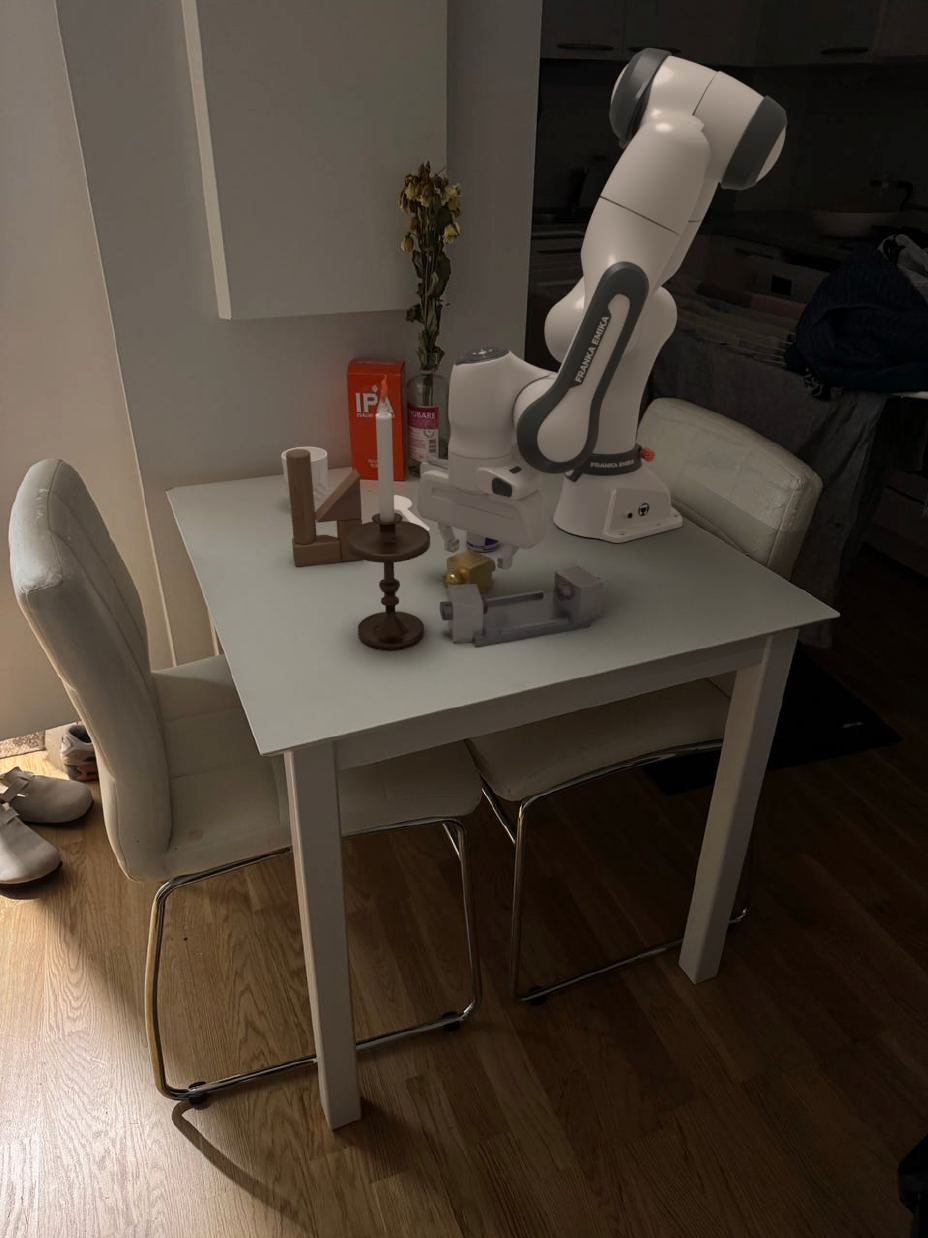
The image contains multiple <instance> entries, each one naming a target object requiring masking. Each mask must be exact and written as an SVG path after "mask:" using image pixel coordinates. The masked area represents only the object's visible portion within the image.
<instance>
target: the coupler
mask: <svg viewBox="0 0 928 1238" xmlns="http://www.w3.org/2000/svg"><path fill="white" fill-rule="evenodd" d="M496 566H497V565H496V561H495V560H494V559H493V558H492V557H490V556H487V555H485V554H482V553H481V552H477V551H473V550H471V549H469V548H468V549H465V550H464V551H461V552H459V553H457V554H454V555H452V556H450V557H447V558H446V574H444V575H443V576H442V584H443V586H444V588H445V589H446V590H447V591H448V585H465V584H477V586H478V590H479V593H480V594H481V593H483V592H485V591H488V590H490V589H491V588H493V572H495V570H496V569H497V568H496Z"/></svg>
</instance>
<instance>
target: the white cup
mask: <svg viewBox="0 0 928 1238" xmlns="http://www.w3.org/2000/svg"><path fill="white" fill-rule="evenodd" d="M293 449H305V450H308V451H309V452H310V457H311V469H312V482H313V495H314V508H315V512H316V511H317V509H318V508H319V507H320V506H321V505H322V504H323V503H324V502H325V501H326V500H327V498H328V491H329V489H328V488H329V487H328V486H329V485H328V483H329V482H328V478H329V473H328V471H329V470H328V469H329V468H328V452H327V450H325V449H323V448H321V447H316V446H298V447H292V448H289V449H287V450H284V451H283V452H282V453H281V463H282V469H283V476H284V483H285V489H286V494H287V498H288V507H289V510H291V505H290V494H289V483H288V473H287V462H286V453H287V452H288V451H290V450H293Z"/></svg>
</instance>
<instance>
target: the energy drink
mask: <svg viewBox="0 0 928 1238" xmlns="http://www.w3.org/2000/svg"><path fill="white" fill-rule="evenodd" d="M465 532H466V537H465V538H466V540H465V541H466V542H465V545H466V547H467V548H468V550H469V549H471V550H473V551H475V552H478V553H488V552H493V551H494V550H496V549H497V548H498V547H499V545H500V541H497V540H494V539H491V538H487V537H484V536H481V535H478V534H474V533H471V532H468V531H465Z"/></svg>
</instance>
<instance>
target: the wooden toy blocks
mask: <svg viewBox="0 0 928 1238" xmlns="http://www.w3.org/2000/svg"><path fill="white" fill-rule="evenodd" d="M286 462H287V473H288V483H289V494H290V505H291V509H290V513H291V525H292V535H293V537H292V538H291V545H292V554H293V561H294V564H295V566H296V567H304V566H313V565H314V566H315V565H324V564H332V563H340V562H343V563H344V562H345V563H346V562H352V561H353V562H354V561H362V559H359V558H357V557H355V556H353V555H352V554H350V553H349V552H348V551H347V548H346V535H347V533H348V532H349V531H350V530H351V529H353V528H354V527H356V526H359V525H361V524H363V519H362V518H363V517H362V515H363V513H362V496H361V476H360V474H359V472H358V470H357V468H354V469H353V470H352V471H351V472H350V473H349V474H348V475H347V476H346V477H345V478H344V479H343V480H342V482H341V483H340V484H339V485H338V486H337V487H336V488H335V489H334V491H333V492H332V493H331V494H330V495H329V496H327V500H326V501H325V502H324V503H323V504H322V505H321V506H320V507H319V508H318V509H317V511H316V512H315V508H314V495H313V482H312V469H311V457H310V452H309V451H308V450H305V449H293V450H290V451H288V452H287V453H286ZM329 522H336V533H337V536H334V535H328V534H319V535H318V534H317V524H316V523H329Z"/></svg>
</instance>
